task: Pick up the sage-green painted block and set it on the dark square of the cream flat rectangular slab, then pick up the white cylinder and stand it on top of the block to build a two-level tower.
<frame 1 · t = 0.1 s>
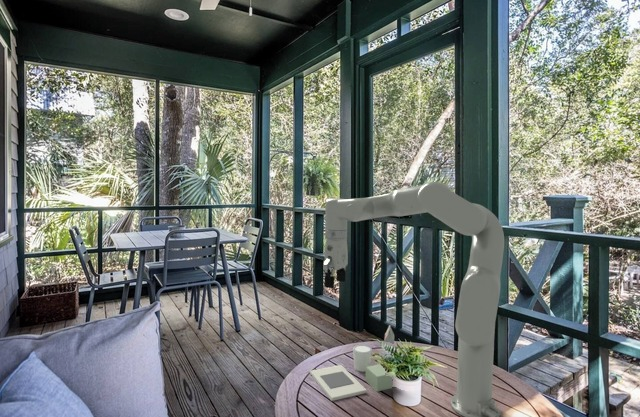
hand: (335, 284, 128), 31 cm above the table, tool pointing down, fingers open, 9 cm apart
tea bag: (389, 353, 146), on the table
sage block: (380, 384, 123), on the table
white cylinder: (362, 368, 134), on the table
cream flat rectangular slab: (336, 382, 123), on the table
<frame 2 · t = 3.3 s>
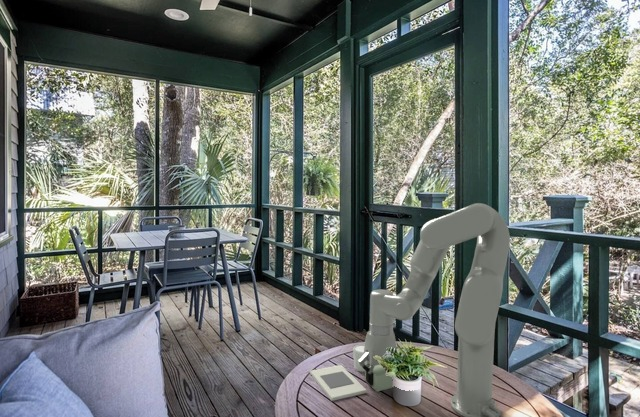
hand: (379, 381, 123), 1 cm above the table, tool pointing down, fingers closed on sage block, 7 cm apart
sage block: (379, 384, 123), on the table, touching gripper
everything else where it was.
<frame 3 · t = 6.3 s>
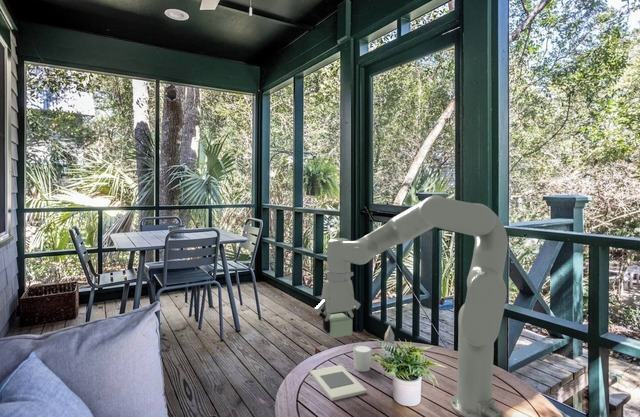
hand: (337, 329, 122), 18 cm above the table, tool pointing down, fingers closed on sage block, 7 cm apart
sage block: (337, 332, 122), point 17 cm above the table, touching gripper
everything else where it was.
when the fingers open (3 cm above the table, at t = 9.5 s): sage block drops 1 cm, resting on cream flat rectangular slab.
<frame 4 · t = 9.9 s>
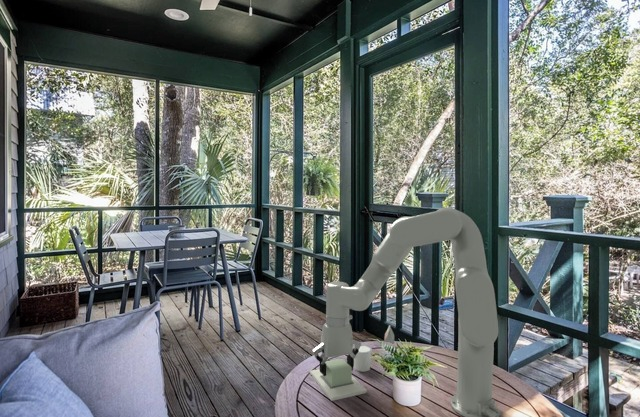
hand: (336, 371, 123), 4 cm above the table, tool pointing down, fingers open, 9 cm apart
sage block: (337, 379, 123), point 1 cm above the table, touching cream flat rectangular slab
everything else where it was.
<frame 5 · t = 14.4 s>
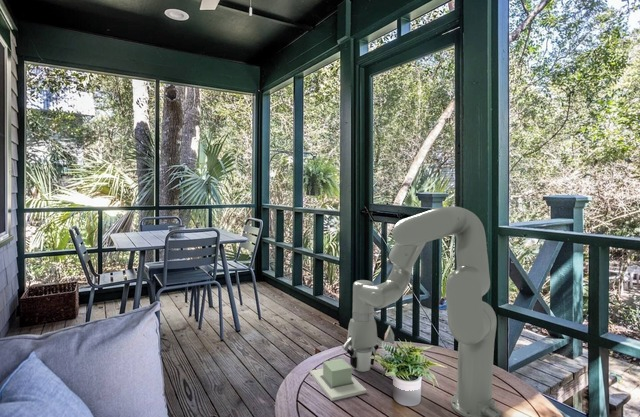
hand: (362, 364, 134), 1 cm above the table, tool pointing down, fingers closed on white cylinder, 6 cm apart
white cylinder: (362, 368, 134), on the table, touching gripper
everything else where it was.
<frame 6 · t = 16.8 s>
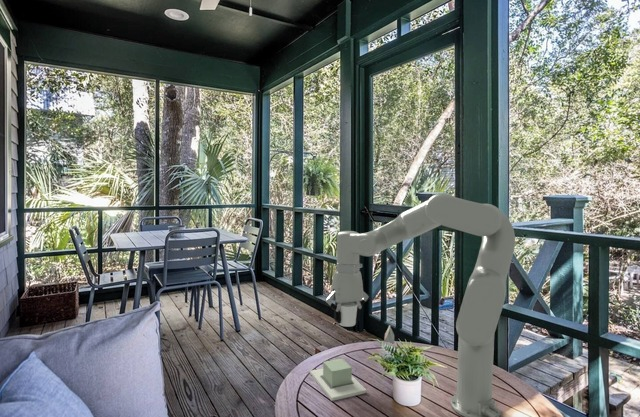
hand: (347, 320, 126), 20 cm above the table, tool pointing down, fingers closed on white cylinder, 6 cm apart
white cylinder: (347, 324, 126), point 18 cm above the table, touching gripper
everything else where it was.
when the fingers open (8 cm above the table, at t = 19.8 s): white cylinder drops 1 cm, resting on sage block.
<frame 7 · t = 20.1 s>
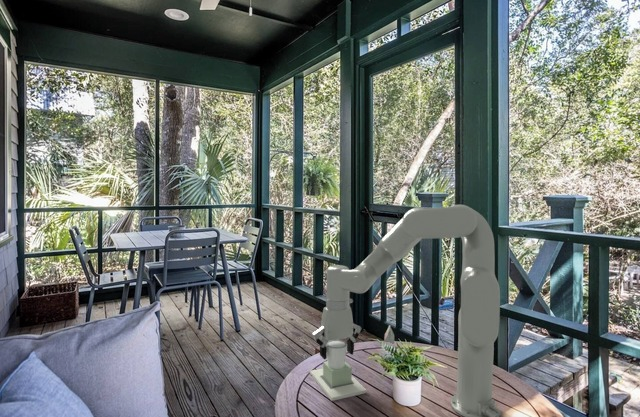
hand: (337, 355, 123), 9 cm above the table, tool pointing down, fingers open, 9 cm apart
sage block: (337, 379, 123), point 1 cm above the table, touching cream flat rectangular slab, white cylinder
white cylinder: (336, 365, 123), point 6 cm above the table, touching sage block
everything else where it was.
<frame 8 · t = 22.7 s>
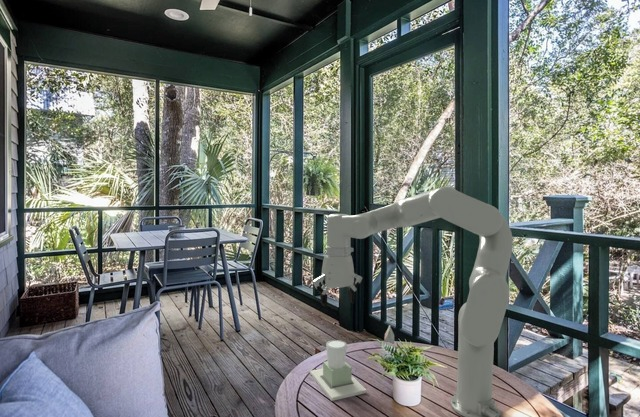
hand: (337, 304, 122), 26 cm above the table, tool pointing down, fingers open, 9 cm apart
nothing on the table moved.
at the end: sage block 0.1 cm off-centre on the cream flat rectangular slab, point 1.1 cm above the cream flat rectangular slab's base; white cylinder 0.4 cm off-centre on the sage block, point 4.8 cm above the sage block's base; white cylinder tilted 0° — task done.
